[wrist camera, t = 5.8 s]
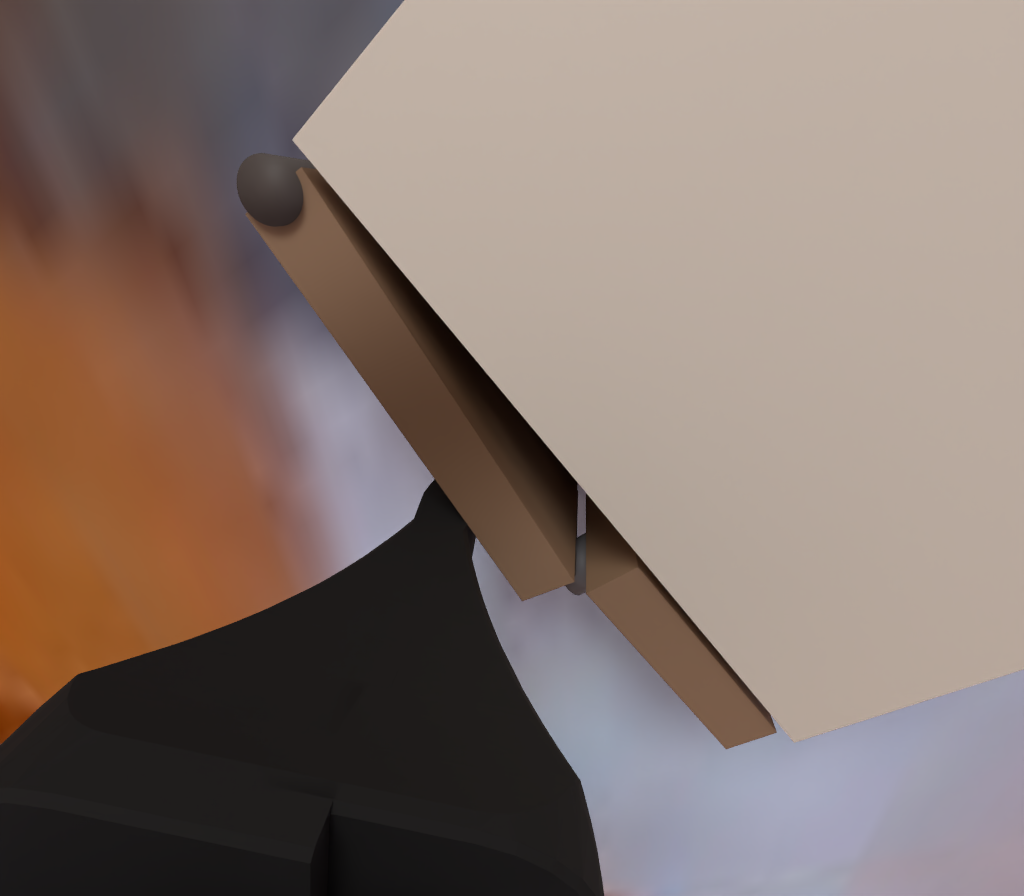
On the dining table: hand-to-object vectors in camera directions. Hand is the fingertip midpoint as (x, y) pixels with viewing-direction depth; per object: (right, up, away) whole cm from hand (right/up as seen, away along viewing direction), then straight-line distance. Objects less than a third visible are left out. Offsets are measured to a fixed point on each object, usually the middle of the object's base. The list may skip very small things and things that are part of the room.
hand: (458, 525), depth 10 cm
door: (+1, +4, +1) cm, 4 cm away
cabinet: (+6, +5, 0) cm, 8 cm away
